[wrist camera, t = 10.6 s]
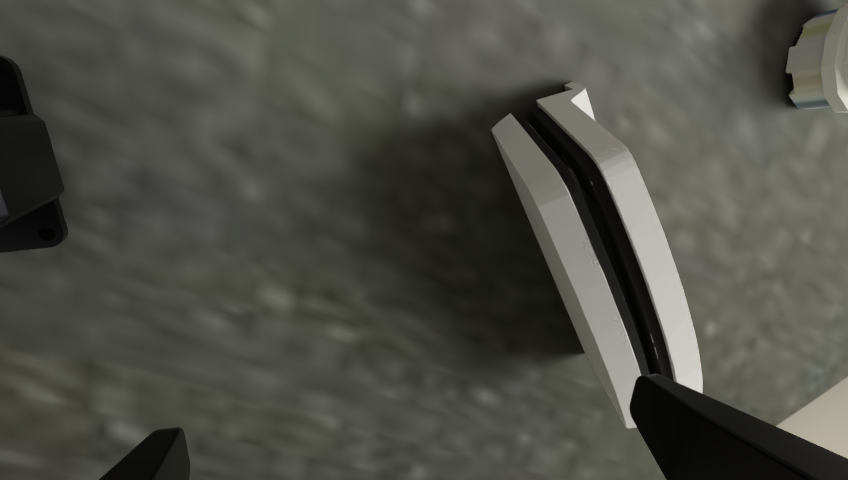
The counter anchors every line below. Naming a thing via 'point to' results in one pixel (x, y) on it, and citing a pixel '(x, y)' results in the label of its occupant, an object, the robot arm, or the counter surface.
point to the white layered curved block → (601, 245)
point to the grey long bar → (821, 62)
